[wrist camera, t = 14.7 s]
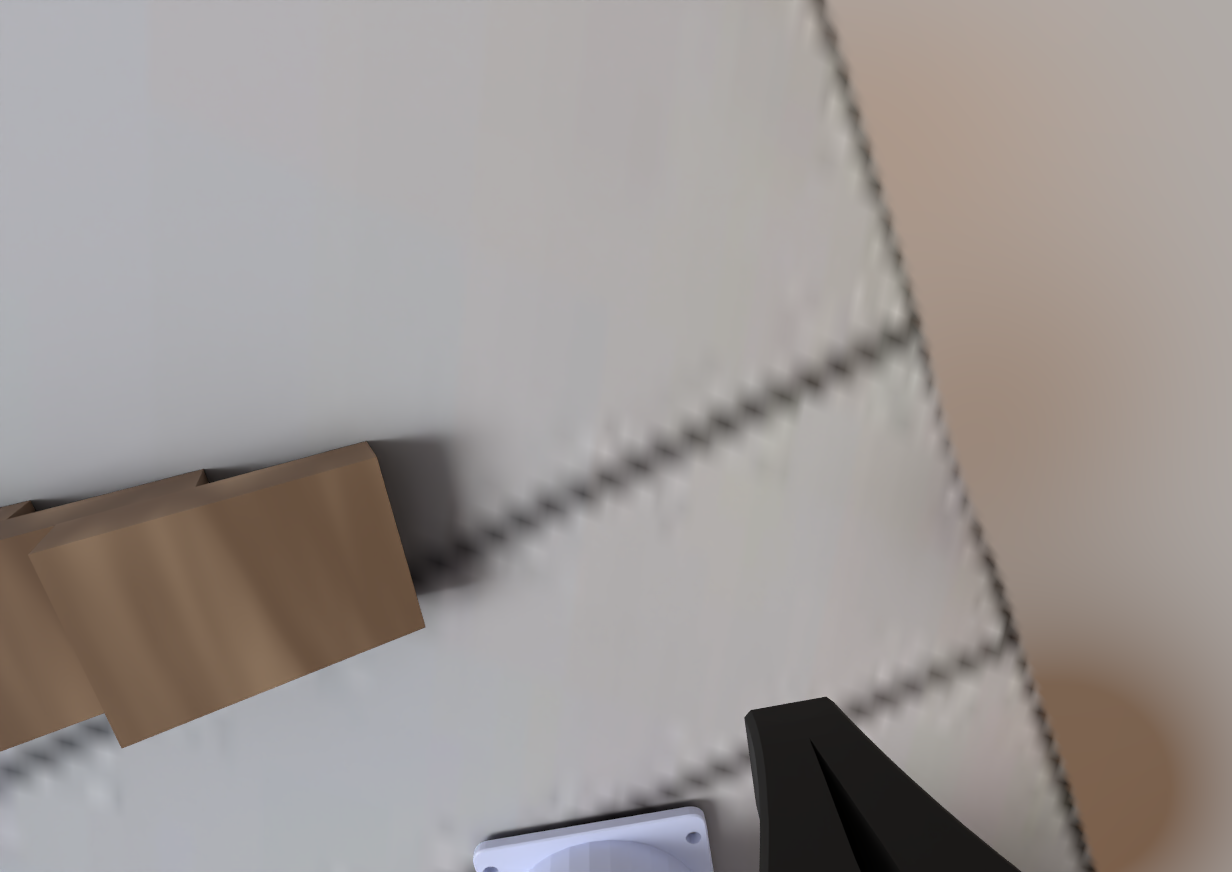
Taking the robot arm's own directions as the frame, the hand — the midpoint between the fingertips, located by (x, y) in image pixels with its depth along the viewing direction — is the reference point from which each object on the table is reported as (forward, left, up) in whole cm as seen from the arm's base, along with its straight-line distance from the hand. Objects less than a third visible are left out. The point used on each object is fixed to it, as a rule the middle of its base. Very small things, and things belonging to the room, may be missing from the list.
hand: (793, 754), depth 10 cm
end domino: (+2, +8, -8) cm, 12 cm away
